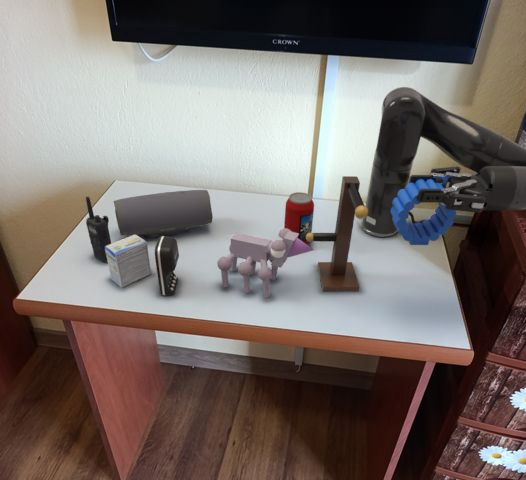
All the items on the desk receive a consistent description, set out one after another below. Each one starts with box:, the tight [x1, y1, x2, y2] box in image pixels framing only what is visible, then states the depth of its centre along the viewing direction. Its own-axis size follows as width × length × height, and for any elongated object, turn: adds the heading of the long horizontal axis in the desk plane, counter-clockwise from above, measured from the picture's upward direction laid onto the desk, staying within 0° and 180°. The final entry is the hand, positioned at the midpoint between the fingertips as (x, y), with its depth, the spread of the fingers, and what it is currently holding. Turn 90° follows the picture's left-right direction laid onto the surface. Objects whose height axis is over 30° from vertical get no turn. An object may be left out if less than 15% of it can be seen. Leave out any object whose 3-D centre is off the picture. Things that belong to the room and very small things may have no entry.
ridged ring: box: [390, 179, 457, 246], centre depth 92 cm, size 5×10×11 cm, turn 93°
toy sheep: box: [217, 228, 314, 298], centre depth 107 cm, size 20×11×14 cm, turn 70°
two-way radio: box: [85, 196, 112, 263], centre depth 114 cm, size 6×4×15 cm
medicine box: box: [105, 234, 152, 288], centre depth 110 cm, size 8×4×9 cm, turn 135°
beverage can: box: [283, 191, 315, 246], centre depth 122 cm, size 7×7×12 cm
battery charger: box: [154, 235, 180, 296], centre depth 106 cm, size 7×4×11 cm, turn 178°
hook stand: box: [306, 175, 368, 292], centre depth 104 cm, size 17×12×23 cm
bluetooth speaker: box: [113, 189, 214, 237], centre depth 125 cm, size 23×9×10 cm, turn 108°
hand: (414, 188), depth 89 cm, fingers closed on ridged ring, 5 cm apart
